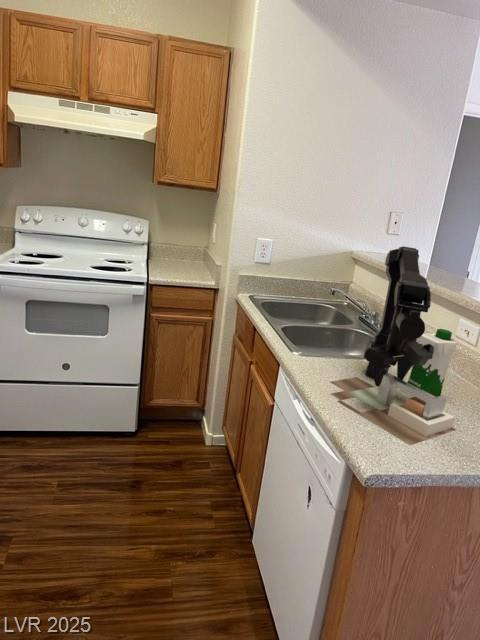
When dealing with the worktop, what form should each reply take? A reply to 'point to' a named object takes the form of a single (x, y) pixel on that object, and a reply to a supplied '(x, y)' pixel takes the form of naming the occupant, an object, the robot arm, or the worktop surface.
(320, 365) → the worktop surface
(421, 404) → the cube
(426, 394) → the grey bridge
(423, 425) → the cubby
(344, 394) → the board
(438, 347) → the milk carton
